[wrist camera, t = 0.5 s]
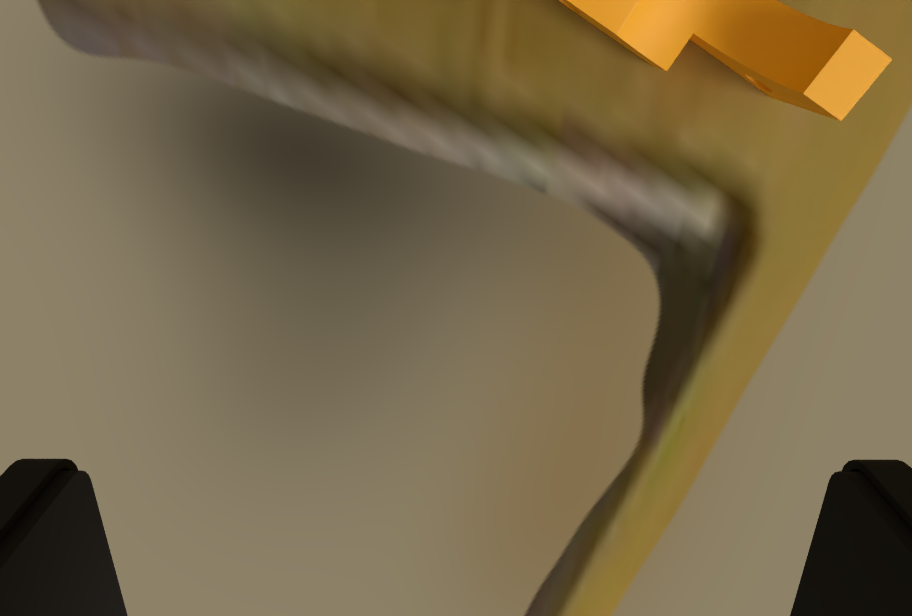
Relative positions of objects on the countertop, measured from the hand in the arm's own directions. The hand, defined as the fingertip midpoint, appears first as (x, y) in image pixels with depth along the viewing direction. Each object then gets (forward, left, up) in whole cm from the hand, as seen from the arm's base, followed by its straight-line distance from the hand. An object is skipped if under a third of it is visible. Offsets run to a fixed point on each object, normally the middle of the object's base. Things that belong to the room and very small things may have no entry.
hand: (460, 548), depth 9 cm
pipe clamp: (-10, +4, -26) cm, 29 cm away
